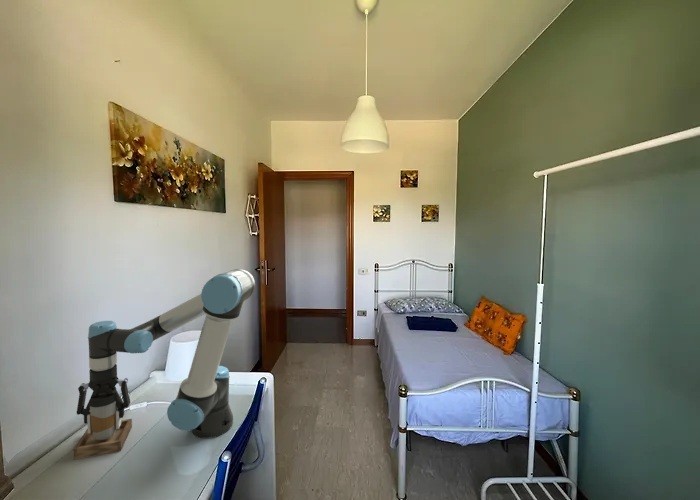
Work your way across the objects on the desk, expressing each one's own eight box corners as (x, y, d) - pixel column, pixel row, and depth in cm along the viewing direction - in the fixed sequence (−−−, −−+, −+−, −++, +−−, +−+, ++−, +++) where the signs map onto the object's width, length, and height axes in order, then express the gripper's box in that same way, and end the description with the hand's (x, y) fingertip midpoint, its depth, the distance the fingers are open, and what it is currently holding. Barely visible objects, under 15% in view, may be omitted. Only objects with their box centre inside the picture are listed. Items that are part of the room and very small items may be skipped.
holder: (131, 427, 120) (131, 418, 120) (121, 450, 108) (120, 441, 108) (90, 434, 115) (89, 425, 115) (73, 459, 103) (73, 449, 103)
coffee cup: (125, 429, 114) (124, 390, 113) (102, 445, 106) (101, 402, 105) (107, 425, 116) (106, 386, 115) (83, 439, 108) (82, 398, 107)
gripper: (140, 358, 116) (141, 417, 118) (71, 365, 109) (73, 427, 111) (134, 367, 109) (135, 429, 111) (60, 375, 102) (63, 441, 104)
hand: (104, 428), depth 111 cm, fingers closed on coffee cup, 7 cm apart
